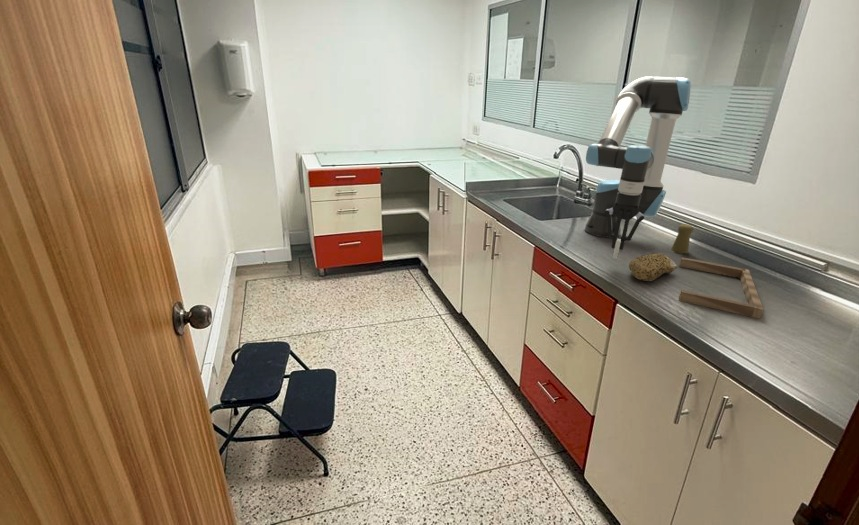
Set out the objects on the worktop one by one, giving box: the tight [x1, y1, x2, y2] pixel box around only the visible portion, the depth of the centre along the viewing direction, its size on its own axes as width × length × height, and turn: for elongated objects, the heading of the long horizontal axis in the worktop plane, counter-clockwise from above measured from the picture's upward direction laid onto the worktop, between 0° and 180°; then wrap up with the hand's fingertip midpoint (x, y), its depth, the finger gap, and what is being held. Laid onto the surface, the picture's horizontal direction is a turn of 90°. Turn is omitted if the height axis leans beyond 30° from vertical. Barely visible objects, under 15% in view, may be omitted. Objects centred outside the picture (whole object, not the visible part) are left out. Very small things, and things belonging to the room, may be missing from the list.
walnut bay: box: [678, 257, 764, 319], centre depth 145 cm, size 34×21×3 cm, turn 152°
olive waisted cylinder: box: [671, 223, 694, 254], centre depth 176 cm, size 6×6×11 cm
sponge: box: [628, 253, 678, 282], centre depth 152 cm, size 13×8×20 cm
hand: (615, 257), depth 157 cm, fingers closed
